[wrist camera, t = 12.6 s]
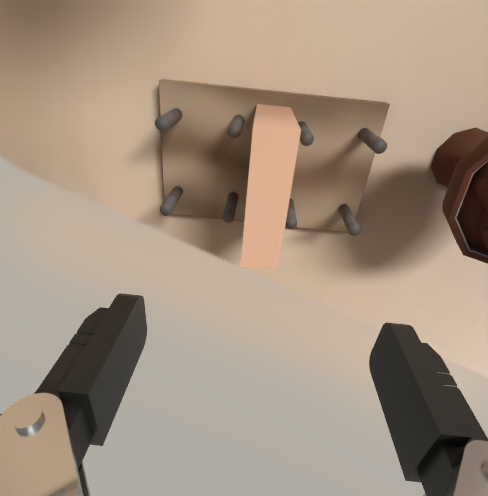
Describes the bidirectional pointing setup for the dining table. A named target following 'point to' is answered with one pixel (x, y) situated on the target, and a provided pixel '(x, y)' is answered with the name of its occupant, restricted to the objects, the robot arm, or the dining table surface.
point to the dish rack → (239, 149)
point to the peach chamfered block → (269, 185)
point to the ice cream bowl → (465, 189)
